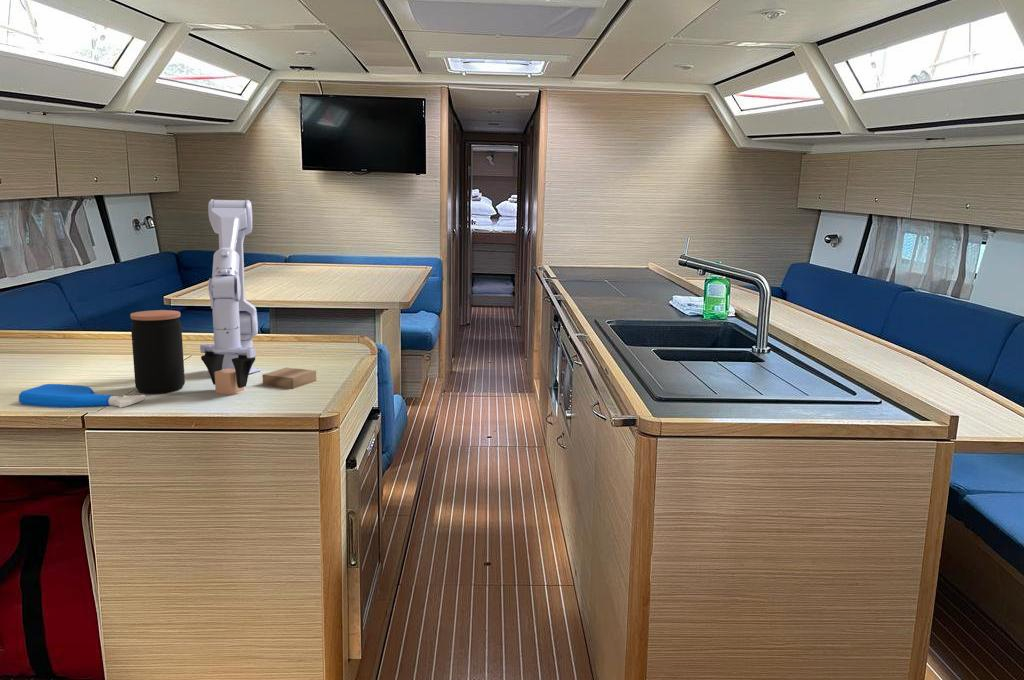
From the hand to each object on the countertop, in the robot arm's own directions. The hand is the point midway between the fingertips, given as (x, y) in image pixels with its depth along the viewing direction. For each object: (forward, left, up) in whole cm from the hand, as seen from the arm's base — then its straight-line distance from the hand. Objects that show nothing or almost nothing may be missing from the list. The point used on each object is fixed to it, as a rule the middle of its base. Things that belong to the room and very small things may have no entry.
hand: (229, 385), depth 179 cm
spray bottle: (-22, -21, -2) cm, 30 cm away
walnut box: (+7, +13, -2) cm, 15 cm away
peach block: (0, 0, -2) cm, 2 cm away
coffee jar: (-16, -5, -2) cm, 17 cm away
